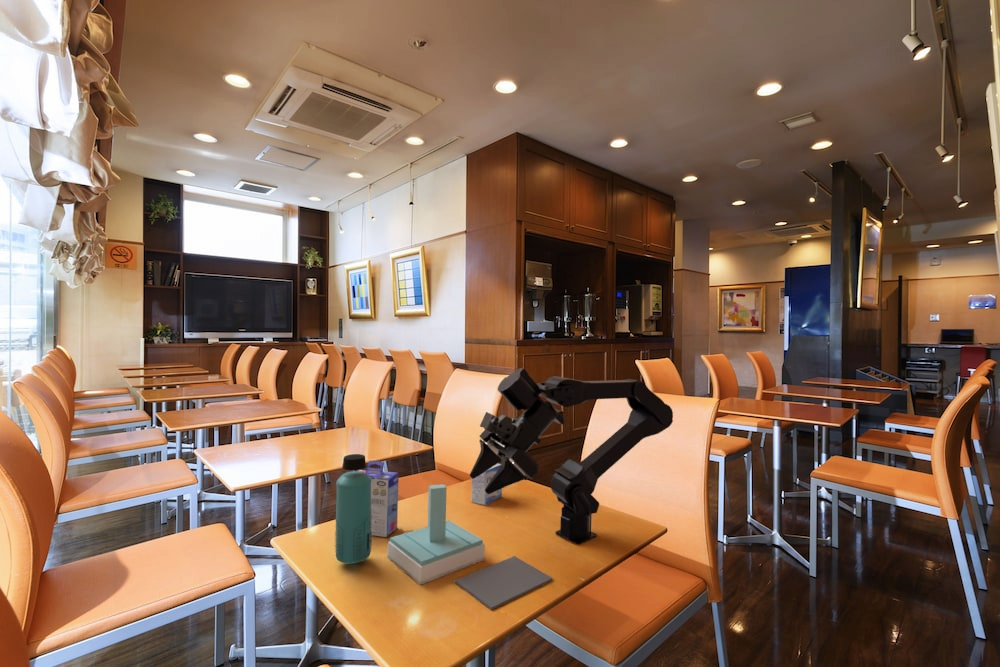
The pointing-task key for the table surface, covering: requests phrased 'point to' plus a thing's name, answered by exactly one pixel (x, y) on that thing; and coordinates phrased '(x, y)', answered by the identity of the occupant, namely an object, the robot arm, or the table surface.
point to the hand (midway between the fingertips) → (478, 484)
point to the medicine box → (481, 483)
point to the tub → (435, 563)
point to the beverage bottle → (353, 512)
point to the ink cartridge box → (383, 499)
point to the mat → (503, 582)
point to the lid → (435, 533)
